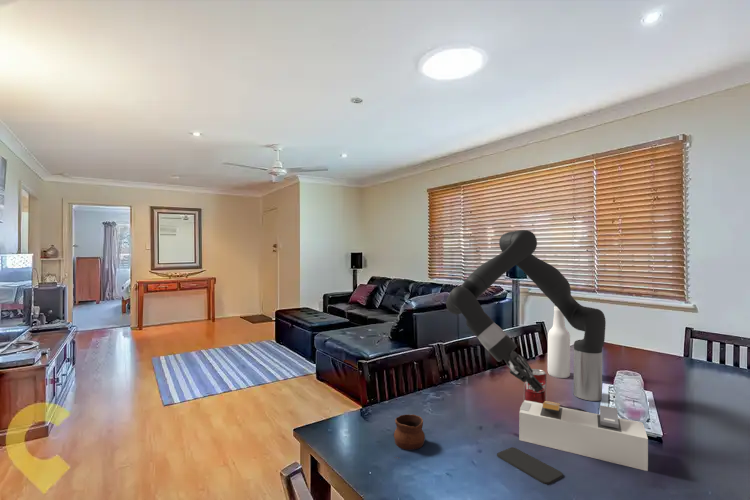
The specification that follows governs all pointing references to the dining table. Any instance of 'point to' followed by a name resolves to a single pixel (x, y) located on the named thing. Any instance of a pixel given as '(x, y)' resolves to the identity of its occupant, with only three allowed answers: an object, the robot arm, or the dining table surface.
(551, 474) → the phone
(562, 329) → the alcohol
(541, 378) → the soda can
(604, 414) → the grey rocker
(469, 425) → the dining table surface
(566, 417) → the switch console
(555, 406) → the amber rocker
